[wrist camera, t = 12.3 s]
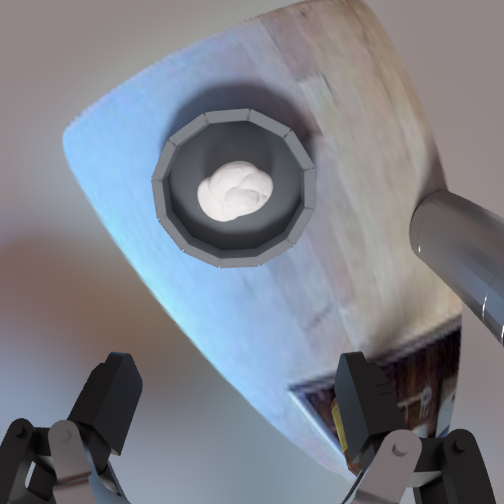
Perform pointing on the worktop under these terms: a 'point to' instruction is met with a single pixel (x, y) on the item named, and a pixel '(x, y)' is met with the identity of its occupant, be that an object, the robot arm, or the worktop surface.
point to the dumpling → (234, 191)
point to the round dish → (211, 159)
